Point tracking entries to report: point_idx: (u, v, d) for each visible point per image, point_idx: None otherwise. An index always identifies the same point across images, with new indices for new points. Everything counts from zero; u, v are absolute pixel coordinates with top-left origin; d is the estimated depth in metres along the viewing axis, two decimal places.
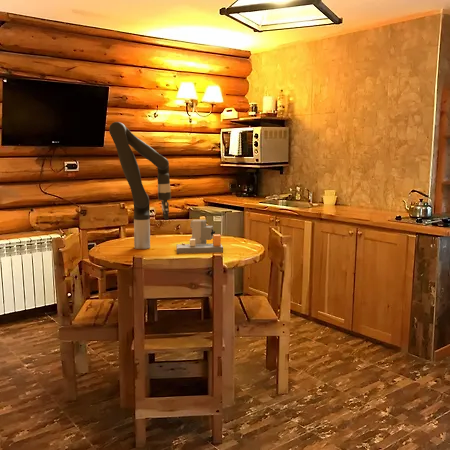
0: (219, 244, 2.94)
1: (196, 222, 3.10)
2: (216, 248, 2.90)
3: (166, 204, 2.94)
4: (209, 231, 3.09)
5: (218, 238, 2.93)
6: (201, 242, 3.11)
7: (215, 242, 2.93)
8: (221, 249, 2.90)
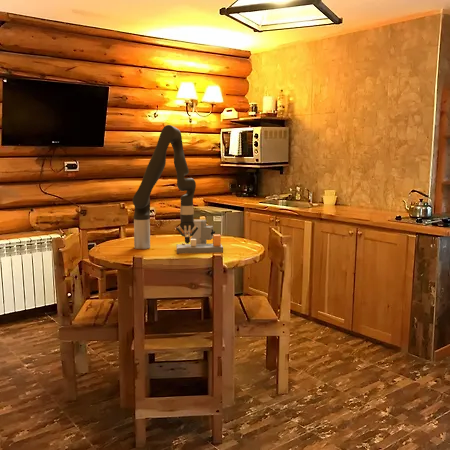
0: (219, 244, 2.94)
1: (196, 222, 3.10)
2: (216, 248, 2.90)
3: (197, 229, 2.93)
4: (209, 231, 3.09)
5: (218, 238, 2.93)
6: (201, 242, 3.11)
7: (215, 242, 2.93)
8: (221, 249, 2.90)
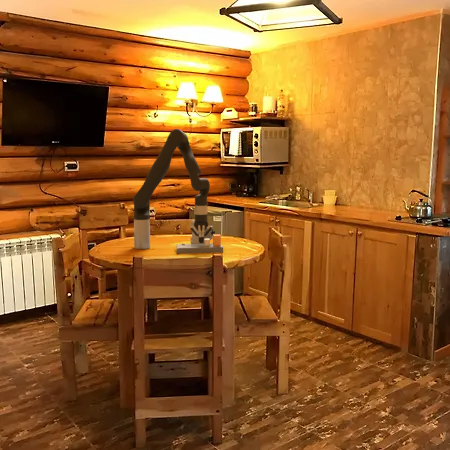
0: (219, 244, 2.94)
1: None
2: (216, 248, 2.90)
3: (210, 229, 2.94)
4: None
5: (218, 238, 2.93)
6: None
7: (215, 242, 2.93)
8: (221, 249, 2.90)
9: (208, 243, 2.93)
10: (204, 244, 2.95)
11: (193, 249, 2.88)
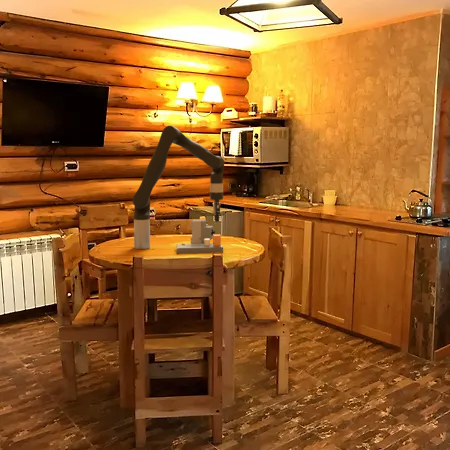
0: (219, 244, 2.94)
1: (196, 222, 3.10)
2: (216, 248, 2.90)
3: None
4: (209, 231, 3.09)
5: (218, 238, 2.93)
6: (201, 242, 3.11)
7: (215, 242, 2.93)
8: (221, 249, 2.90)
9: (208, 243, 2.93)
10: (204, 244, 2.95)
11: (193, 249, 2.88)
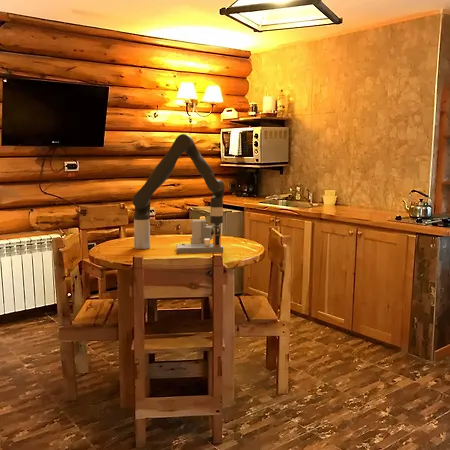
0: (219, 244, 2.94)
1: (196, 222, 3.10)
2: (216, 248, 2.90)
3: None
4: (209, 231, 3.09)
5: None
6: (201, 242, 3.11)
7: None
8: (221, 249, 2.90)
9: (208, 243, 2.93)
10: (204, 244, 2.95)
11: (193, 249, 2.88)
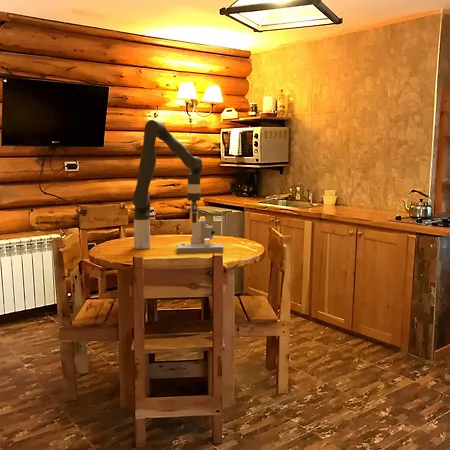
0: (196, 222, 2.90)
1: None
2: (216, 248, 2.90)
3: None
4: (209, 231, 3.09)
5: None
6: (201, 242, 3.11)
7: None
8: (221, 249, 2.90)
9: (208, 243, 2.93)
10: (204, 244, 2.95)
11: (193, 249, 2.88)
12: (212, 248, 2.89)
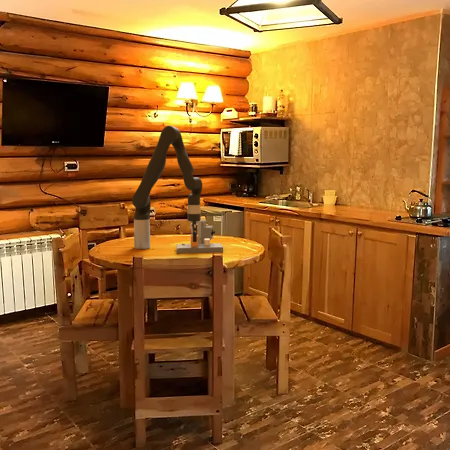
0: (196, 244, 2.92)
1: (196, 222, 3.10)
2: (216, 248, 2.90)
3: None
4: (209, 231, 3.09)
5: None
6: (201, 242, 3.11)
7: (192, 242, 2.92)
8: (221, 249, 2.90)
9: (208, 243, 2.93)
10: (204, 244, 2.95)
11: (193, 249, 2.88)
12: (212, 248, 2.89)
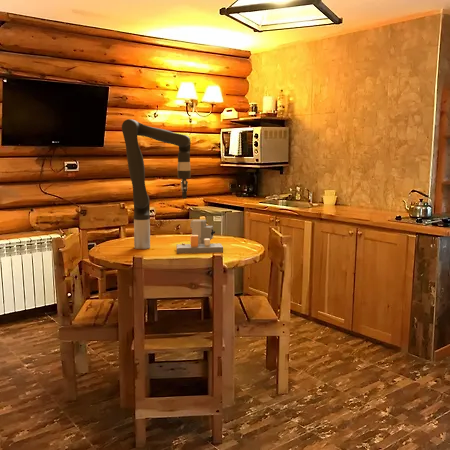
0: (196, 244, 2.92)
1: (196, 222, 3.10)
2: (216, 248, 2.90)
3: None
4: (209, 231, 3.09)
5: (195, 239, 2.92)
6: (201, 242, 3.11)
7: (192, 242, 2.92)
8: (221, 249, 2.90)
9: (208, 243, 2.93)
10: (204, 244, 2.95)
11: (193, 249, 2.88)
12: (212, 248, 2.89)
